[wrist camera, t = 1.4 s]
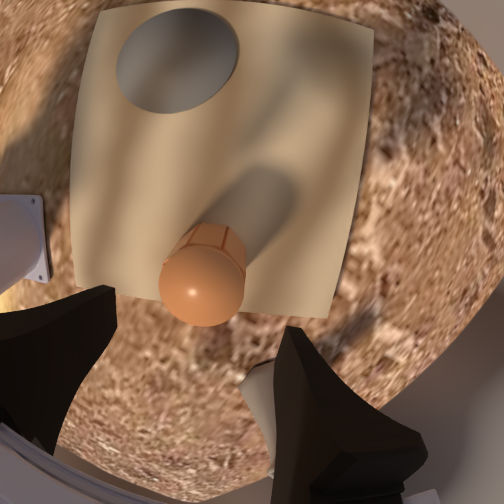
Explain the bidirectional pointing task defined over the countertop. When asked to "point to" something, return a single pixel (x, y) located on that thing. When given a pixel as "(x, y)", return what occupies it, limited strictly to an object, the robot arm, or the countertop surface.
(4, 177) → the countertop surface
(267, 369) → the flask
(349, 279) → the countertop surface
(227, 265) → the orange domed tapered piece
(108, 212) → the board
